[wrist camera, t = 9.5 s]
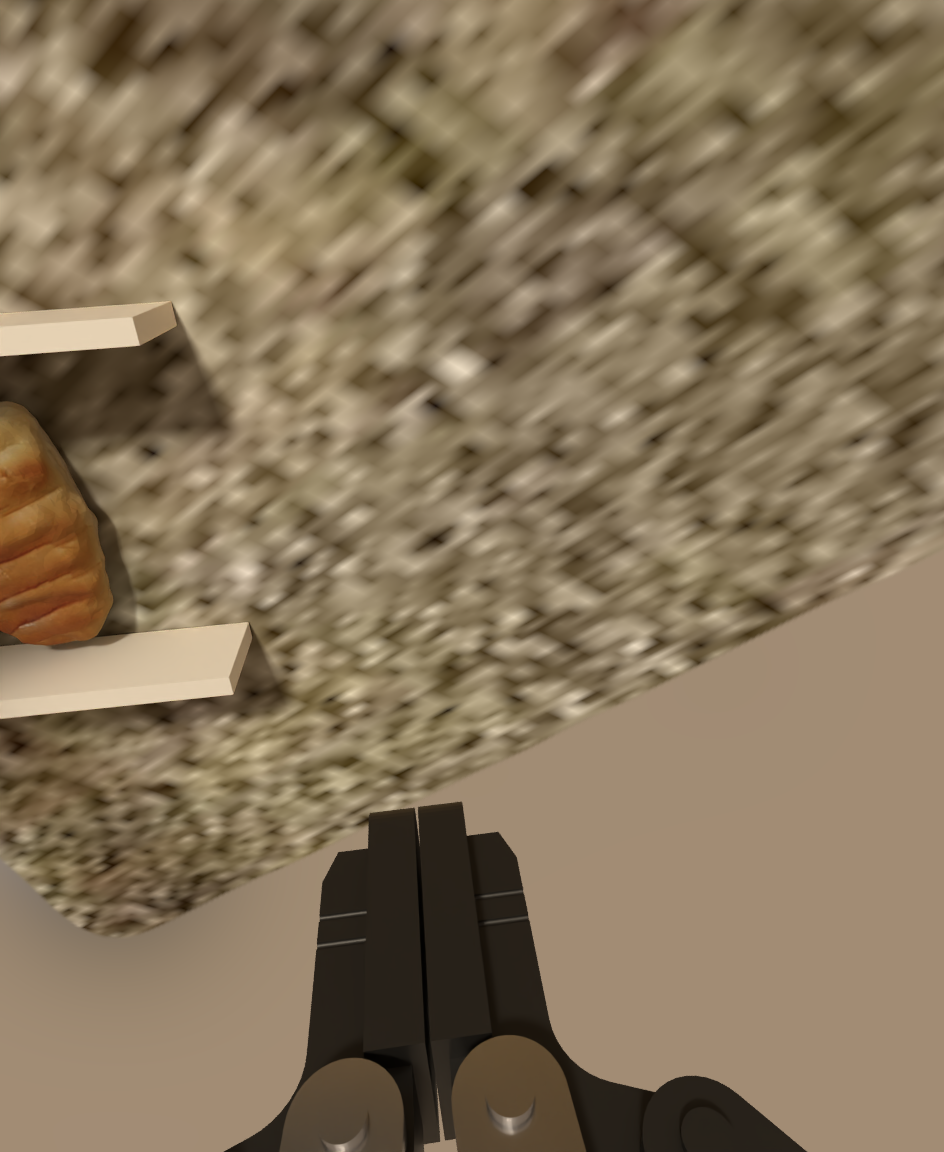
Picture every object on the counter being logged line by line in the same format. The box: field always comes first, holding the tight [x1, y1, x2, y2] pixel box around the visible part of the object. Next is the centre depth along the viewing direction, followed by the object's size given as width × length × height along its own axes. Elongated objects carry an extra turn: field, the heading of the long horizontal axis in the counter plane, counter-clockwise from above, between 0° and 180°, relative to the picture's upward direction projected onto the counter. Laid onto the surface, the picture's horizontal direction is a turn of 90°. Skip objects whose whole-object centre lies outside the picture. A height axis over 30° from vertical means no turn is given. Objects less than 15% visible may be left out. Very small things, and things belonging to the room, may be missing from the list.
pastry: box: [0, 401, 113, 646], centre depth 26 cm, size 9×7×4 cm
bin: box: [0, 301, 252, 719], centre depth 25 cm, size 14×13×4 cm
